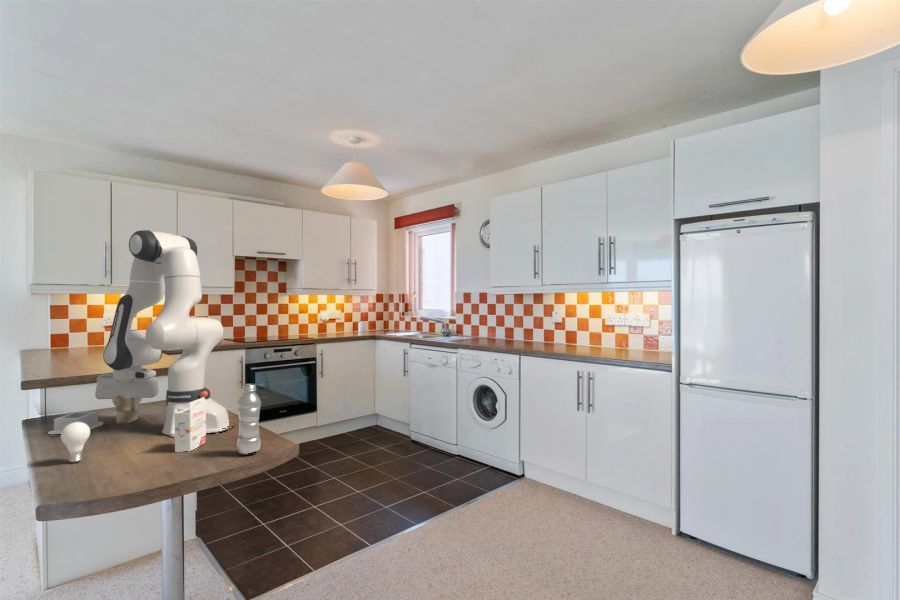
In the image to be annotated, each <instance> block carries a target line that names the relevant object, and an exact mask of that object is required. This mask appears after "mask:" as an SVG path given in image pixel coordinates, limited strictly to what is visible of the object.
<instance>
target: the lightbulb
mask: <svg viewBox="0 0 900 600" xmlns="http://www.w3.org/2000/svg"><path fill="white" fill-rule="evenodd" d="M90 436H91V430H90V428H89V426H88V425H87V424H85V423H83V422H73V423H70V424H68V425H67V426H66V427H64V429H63V430H62V432H61V435H60V440H61V441H62V443H63V444H64V445H65V446H66V447H67V452H68V454H69V458H68V461H69V462H70V463H73V464H75V463H78V462H80V461H81V460H82V459H83V457H82V455H83V450H84V447H85V446H84V445H85V444H86V442H87V441H88V440H89V438H90Z"/></svg>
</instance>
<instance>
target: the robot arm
mask: <svg viewBox="0 0 900 600" xmlns="http://www.w3.org/2000/svg"><path fill="white" fill-rule="evenodd" d="M128 249H129V251H130V254H131V255H132V257H133V261H132V265H131V270H130V274H129V275H130V277H129V285H128V288H127V291H126V292H125V294H124V295H123V296H121V297H120V298H119V300H118V301H117V304H116V308H115V312H114V317H113V320H112V325H111V329H110V333H109V338H108V341H107V344H105V345H106V346H105V348H104V349H103V355H102V356H103V357H102V358H103V361H104V363H105V365H106V366H108V367H109V368H110V369H112V373H101V374H100V375H98V376H97V377H96V388H95V394H94V396H95V398H96V399H97V400H111V401H112V403H113V405H114V407H115V411H116V412H117V396H124V395H130V397H131V398H135V401H137V402H136V403H135V405H133V406H132V410H137V411H138V410H139V406H140V403H141V402H142V400H143V399H152V398H155V397H157V396H158V394H159V383H158V379H157V378H156V375H157V372H156V370H154V369H149V368H145V367H143V366H151V365H154V364H157V363H158V362H159V361H161V359H162V357H163V351H167V352H168V351H180V350H181V351H182V353H181V355H180V356H179V358H178V359H177V360H176V361H174V362H173V363H171V364H170V365H169V367H168V369H167V370H168V371H167V390H166V393H165V403H166V404H165V405H166V415H165V421H164V424H163V428H162V430H161V433H162V434H163V435H166V436H170V437H172V438H175V414H174V413H176V412H179V411H181V410H184V409H187V408H189V403H190V402H192V401H195V400H198V399H201V398H203V397H204V398H205V406H206V433H211V432H218V431H222V430H225V429H222V428H226V429H227V428H228V427H227V426H229V421H230V417H229V414H228V413H229V412H228V410H227V408H226V407H225V406H224V405H222V404H221V403H219V402H217V401H216V400H215V399H212V398H211V393H212V390H213V389H211V388H210V389H208V388H207V387H206V386H205V380H206V379H205V377H206V365H207V362H208V359H209V357H210V355H211V352H212V351H213V350H214V348H215V347H216V346H217V345H218V344H219V343H220V342H222V339H223V337H224V327H223V324H222V323H221V322H220V321H219V320H218V319H216V318H211V317H205V316H202V317H201V316H200V317H199V316H198V317H194V316H193V317H190V312H191V309H192V308H193V307H194V306H196V305H198V304H199V303H200V302H201V301H202V297H203V292H202V291H203V289H202V279H201V270H200V265H199V261H198V258H197V255H198V246H197V243H196V241H195V240H194V239H192V238H189V237H187V236H184V235H177V234H173V233H168V232H166V231H165V232H164V231H156V230H155V231H154V230H149V229H144V230H143V229H142V230H136V231H135V232H133V233H132V235H131V236H130V238H129V241H128ZM163 298H164V303H163V307H162V309H161V311H160V312H159V315H158V316H157V317H156V318H155V319H154V320H153V321H151V322H150V323H149V324H148V325H147V327H146V330H145V335H143V334H142V332H141V331H140V330H138V329H132V325H133V321H134V318H135V317H136V315H137V314H139V313H140V312H141V311H143V310H145V309H148V308H151V307H154V306H155V305H157V304H158V303H159V302H161V301H162V300H163ZM198 405H200V403H198V402H197V404H195V406H198Z"/></svg>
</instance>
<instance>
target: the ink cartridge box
mask: <svg viewBox="0 0 900 600" xmlns="http://www.w3.org/2000/svg"><path fill="white" fill-rule="evenodd" d="M197 402H198V403H200V405H198V406H195V404H197ZM174 414H175V437H174V452H175V453H184V452H183V451H191V450H193V449H195V448H197V447H199V446H200V445H202V444H204V443H205V442H206V443H207V434H206V406H205V398H204V397H203V398H201V399H198V400H195V401H192V402H190V403H189V408H187V409H184V410H181V411H179V412H176V413H174ZM204 445H205V444H204ZM199 448H200V447H199ZM197 449H198V448H197ZM195 450H196V449H195ZM180 451H181V452H180Z"/></svg>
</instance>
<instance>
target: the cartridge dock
mask: <svg viewBox="0 0 900 600" xmlns="http://www.w3.org/2000/svg"><path fill="white" fill-rule="evenodd" d="M73 422H83V423H85V424H87V425H88V426H89V428H90V431H92V430H93V429H96V428H98V427H101V426H103V425H104V421H99V411H79V412H76V411H75V412H71V413H69V414H66V415H65V414H64V415H63V416H62V415H61V416H60V417H56V418H54V419H53V430H50V431H48V432H47V435H48V434H61V432H62V430H63V429H64V427H66V426H67V425H68V424H70V423H73Z"/></svg>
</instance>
